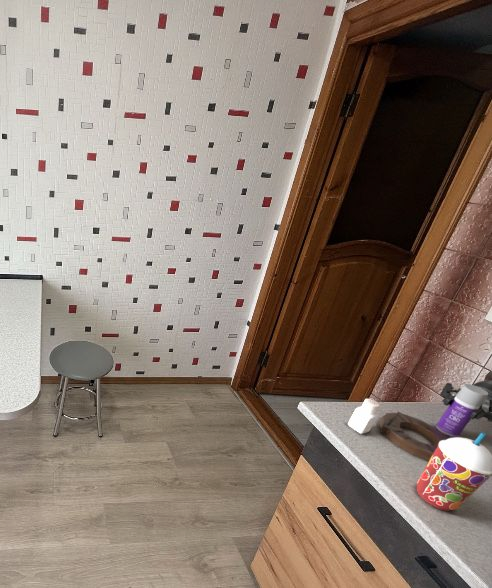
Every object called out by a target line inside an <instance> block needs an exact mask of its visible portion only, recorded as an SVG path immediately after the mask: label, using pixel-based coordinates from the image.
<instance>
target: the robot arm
mask: <svg viewBox="0 0 492 588" xmlns="http://www.w3.org/2000/svg"><path fill="white" fill-rule="evenodd" d="M489 371H490V370H489ZM489 371H488V372H489ZM488 372H487V373H488ZM487 373H486V374H487ZM472 385H474V386H477V387H480V388H482V389H484V390H485V391H487V392H488V396H487V397H486V399H485V400H484V402H483V403H482V405H481V406H480V408H479V409H478V410H476V411H474V412H473V413H472V414H471V415H470V417H469V418H471V420H474V419H475V420H480V419H484V418H485V419H486V420H487V421H488V422H490V423H492V371H490V372H489V373H488V374H487V375H485V376H484V379H483V380H481V381H478V382H475V383H472ZM461 389H462V388H456V387H454V386H453V384H452V383H450V382H446V383H445V384H444V386H443V388H442V390H441V392H440V395H439V396H440V397H441V398H443V400H441V401H442V402H441V403H443V406H446V407H447V406H448V407H449V405H450V404H451V402H452V401H453V399H454V398H455V397H456V395H457V394H458V393H459V391H460V390H461Z"/></svg>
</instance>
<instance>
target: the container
mask: <svg viewBox="0 0 492 588" xmlns="http://www.w3.org/2000/svg"><path fill="white" fill-rule="evenodd" d="M460 389H461V390H460V391H459V393H458V394H457V395H456V397H455V398H454V399H453V401H452V402H451V404H450V405H448V407H447V408H446V409H445V411H444V413H443V414H442V415H441V417H440V418H439V420H438V421H437V423H436V425H435V428H437V429H438V430H440V431H441V432H443V433H444V434H445V435H447V436H448V437H451V438H455V437H460V435H461V434H462V433H463V431H464V429H465V428H466V427H467V426H468V424H469V423H470V422H471V420H472V419H471V418H469V417H470V415H471V414H472V413H473V412H474V411H476V410H478V409H479V408H480V406H481V405H482V403H483V402H484V400H485V399H486V397H487V396H488V392H487V391H485V390H484V389H482V388H480V387H477V386H474V385H473V384H471V383H465V384H464V385H463V386H462V387H461V388H460Z"/></svg>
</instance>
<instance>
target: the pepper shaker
mask: <svg viewBox="0 0 492 588" xmlns="http://www.w3.org/2000/svg"><path fill="white" fill-rule="evenodd" d="M380 406H381V405H380V403H379V402H377V401H376V400H374V399H371V398H365V399H364V401H363V403H362V405H361V406H357V407H356V408H355V409H354V411H353V413H352V415H351V417H350V419H349V421H348V422H347V426H349V427H350V428H351V429H353V430H354V431H356V432H357V433H358V434H361V435H362V434H366V433H369V432H370V431H371V430H372V428H373V426H374V425H375V423H376V421H377V419H378V417H379V415H378V414H377V413H376V412H377V411H378V410H379V408H380Z"/></svg>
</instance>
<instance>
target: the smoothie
mask: <svg viewBox="0 0 492 588" xmlns="http://www.w3.org/2000/svg"><path fill="white" fill-rule="evenodd" d="M486 436H487V433H485V432H480V434H479V435H478V436H477V438H476V439H475V440H474V439H471V438H468V437H462V436H458V437H449V439H446V440H441V441H440V442H439V445H438V446H437V448H436V450H435V452H434V453H433V455H432V457H431V459H430V460H429V461H428V462H427V464H426V466H425V468H424V469H423V471H422V473H421V475H420V476H419V478H418V480H417V481H416V491H417V493H418V495H419V496H420V497H421V499H422V500H424V501H425V502H426V503H428V504H429V505H431V506H432V507H433V508H434V507H435V508H436V509H438V510H441V511H445V512H446V511H447V512H449V511H453V510H454V511H455V510H457V509H458V508H459V507H460V506H461V505H462V504H464V503H465V501H467V500H468V499H469V498H470V497H471V496H472V495H473V494H474V493H475V492H477V490H478V489H479V488H480V487H482V485H483V484H484V483H486V482H487V481H488V480H489V479H490V478H491V477H492V452H491V451H490V450H489V449H488V448H487V447H486V446H484V445H483V444H481V443H482V441H483V440H484V438H485V437H486Z"/></svg>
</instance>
